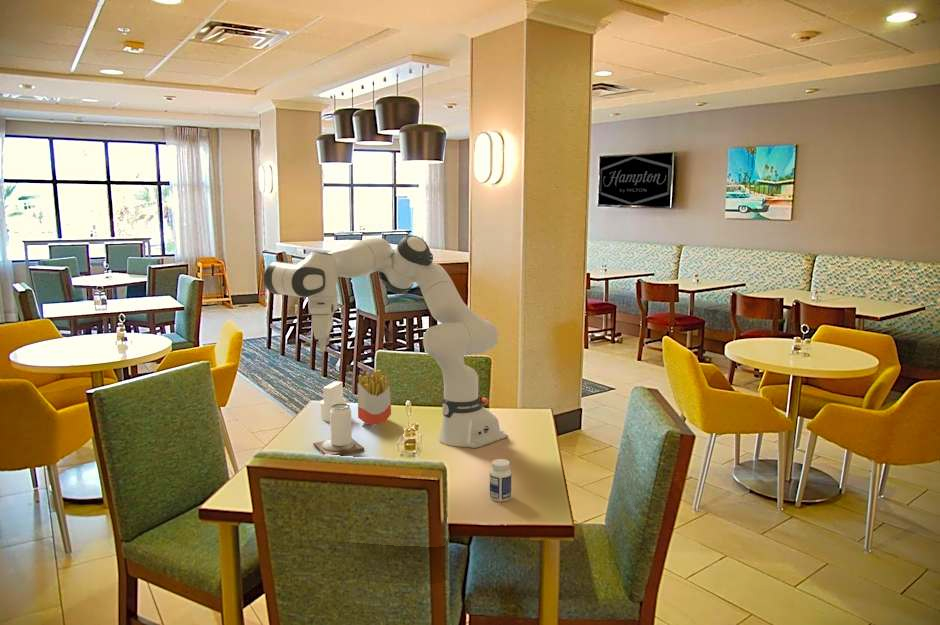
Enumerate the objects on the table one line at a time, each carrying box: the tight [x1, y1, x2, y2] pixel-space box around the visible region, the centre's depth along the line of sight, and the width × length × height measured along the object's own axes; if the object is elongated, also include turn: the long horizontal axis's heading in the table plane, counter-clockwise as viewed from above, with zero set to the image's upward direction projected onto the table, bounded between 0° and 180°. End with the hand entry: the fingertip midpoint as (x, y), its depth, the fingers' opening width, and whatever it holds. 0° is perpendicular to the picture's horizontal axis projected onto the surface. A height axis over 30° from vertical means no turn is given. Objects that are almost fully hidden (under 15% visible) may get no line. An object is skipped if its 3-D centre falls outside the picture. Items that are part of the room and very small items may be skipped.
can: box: [329, 403, 353, 446], centre depth 212 cm, size 6×6×12 cm
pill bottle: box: [489, 458, 512, 503], centre depth 179 cm, size 6×6×10 cm
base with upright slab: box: [319, 380, 347, 422], centre depth 241 cm, size 9×9×12 cm
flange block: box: [312, 438, 365, 456], centre depth 213 cm, size 12×12×2 cm
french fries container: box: [357, 369, 392, 427], centre depth 235 cm, size 5×11×18 cm, turn 131°
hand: (324, 347), depth 213 cm, fingers open, 8 cm apart
